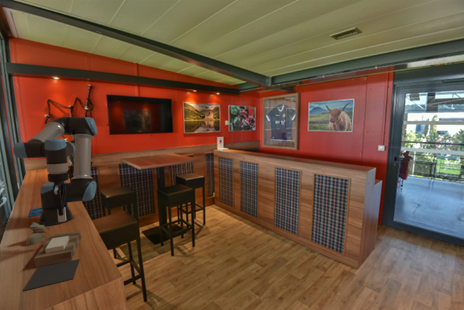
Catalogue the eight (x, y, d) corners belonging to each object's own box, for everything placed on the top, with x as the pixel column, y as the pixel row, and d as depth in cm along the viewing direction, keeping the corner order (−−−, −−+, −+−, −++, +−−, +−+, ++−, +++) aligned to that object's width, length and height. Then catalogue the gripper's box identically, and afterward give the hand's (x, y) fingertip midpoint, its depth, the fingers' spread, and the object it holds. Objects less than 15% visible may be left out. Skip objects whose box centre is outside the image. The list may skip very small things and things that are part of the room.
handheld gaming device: (28, 216, 131) (30, 208, 142) (28, 217, 131) (31, 210, 142) (46, 212, 136) (47, 206, 148) (46, 214, 136) (47, 207, 148)
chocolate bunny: (47, 240, 106) (45, 221, 104) (26, 246, 100) (23, 226, 98) (45, 236, 109) (43, 217, 108) (24, 242, 103) (21, 223, 102)
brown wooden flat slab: (51, 243, 103) (50, 235, 102) (81, 237, 108) (80, 230, 108) (35, 267, 85) (34, 258, 85) (71, 260, 90) (71, 251, 90)
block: (52, 242, 96) (52, 238, 96) (69, 239, 99) (68, 235, 99) (45, 253, 88) (45, 248, 88) (63, 249, 91) (63, 245, 91)
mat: (37, 268, 85) (37, 267, 85) (79, 259, 91) (79, 258, 91) (23, 291, 73) (23, 290, 73) (73, 279, 79) (72, 278, 79)
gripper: (52, 170, 102) (56, 217, 105) (42, 175, 91) (47, 228, 94) (71, 169, 106) (75, 214, 109) (64, 174, 94) (68, 225, 97)
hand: (62, 221), depth 101 cm, fingers closed
